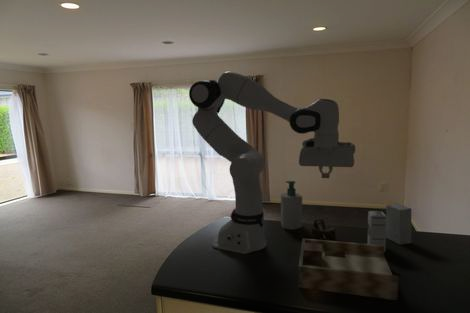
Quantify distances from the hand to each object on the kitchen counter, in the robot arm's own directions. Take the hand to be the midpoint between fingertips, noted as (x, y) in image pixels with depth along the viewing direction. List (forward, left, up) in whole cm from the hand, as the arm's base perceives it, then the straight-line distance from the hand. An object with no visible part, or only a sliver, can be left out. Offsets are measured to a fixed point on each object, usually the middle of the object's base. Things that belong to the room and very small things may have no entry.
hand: (325, 177), depth 117 cm
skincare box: (+30, +16, -29) cm, 45 cm away
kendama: (-1, +13, -30) cm, 32 cm away
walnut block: (-4, -19, -25) cm, 32 cm away
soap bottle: (-15, +23, -29) cm, 40 cm away
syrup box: (+20, +6, -29) cm, 36 cm away
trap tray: (+6, -18, -29) cm, 35 cm away
